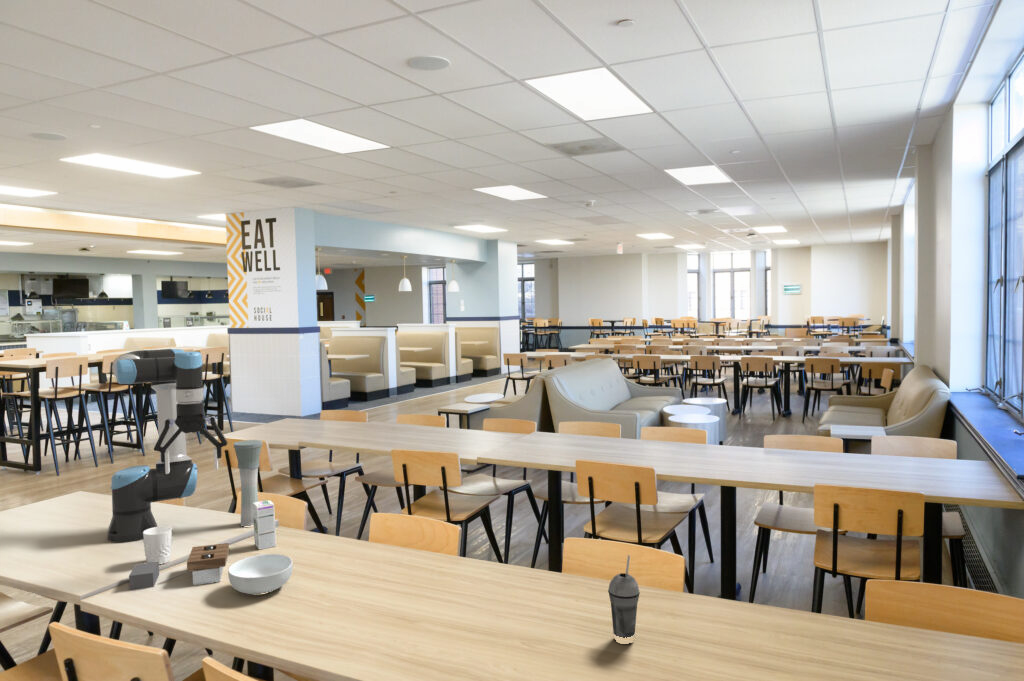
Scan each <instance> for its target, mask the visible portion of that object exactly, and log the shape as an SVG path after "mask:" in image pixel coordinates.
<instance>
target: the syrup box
mask: <svg viewBox="0 0 1024 681" xmlns="http://www.w3.org/2000/svg"><path fill="white" fill-rule="evenodd" d="M275 516H276V515H275V504H274V503H273V502H272V501H271V500H270V499H266V500H260V501H259V500H258V502H255V503H253V517H254V527H253V532H254V533H253V534H254V535H253V538H254V546H255V547H256V548H257V550H259V551H260V550H266V549H270V548H275V547H277V537H276V536H277V535H276V534H277V532H276V519H275V518H276V517H275Z"/></svg>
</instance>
